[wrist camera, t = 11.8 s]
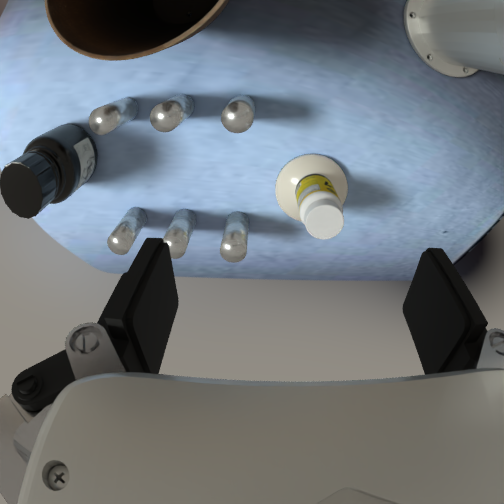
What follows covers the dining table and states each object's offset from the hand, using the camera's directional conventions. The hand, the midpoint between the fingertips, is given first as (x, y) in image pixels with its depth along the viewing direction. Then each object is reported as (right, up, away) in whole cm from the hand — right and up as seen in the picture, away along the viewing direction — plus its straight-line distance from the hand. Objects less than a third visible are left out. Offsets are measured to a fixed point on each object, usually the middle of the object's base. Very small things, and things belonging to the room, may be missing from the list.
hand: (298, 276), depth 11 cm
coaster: (+6, +9, +28) cm, 30 cm away
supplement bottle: (+6, +9, +27) cm, 29 cm away
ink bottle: (-26, +14, +26) cm, 39 cm away
